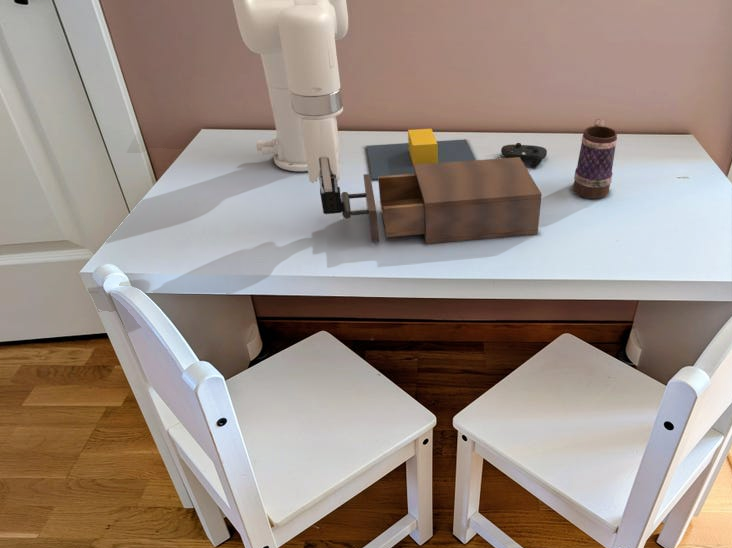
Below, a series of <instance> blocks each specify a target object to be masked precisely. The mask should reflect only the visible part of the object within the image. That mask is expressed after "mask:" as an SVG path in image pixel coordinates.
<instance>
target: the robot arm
mask: <svg viewBox="0 0 732 548" xmlns="http://www.w3.org/2000/svg"><path fill="white" fill-rule="evenodd" d="M232 5H233V8H234V9H233V10H234V13H235V17H236V22H237V25H238V29H239V33H240V36H241V38H242V41H243V43H244V44H245V46H246V47H247V49H249V51H251V52H252V53H254V54H258V55H260V59H261V62H262V67H263V71H264V76H265V82H266V86H267V91H268V96H269V100H270V106H271V111H272V117H273V121H274V126H275V132H276V138H271V140H256V143H255V144H256V150H257V152H262V155H270V154H271V155H272V154H273V162H274V164H275V165H276V166H277V167H279V168H280V169H282V170H285V171H290V172H307V174H308V180H309V182H311V183H312V184H314V183H317V182H319V187H320V188H319V194H320V199H321V200H320V201H321V208H322V213H323V214H324V215H332V214H342V202H341V189H340V188H341V187H340V186H339V183H338V181H339V180H340V179H341V152H340V151H341V149H340V138H339V131H338V130H339V129H338V123H337V116H339V115H341V114H342V113H343V111H344V104H343V96H342V87H341V81H340V70H339V64H338V63H339V62H338V55H337V47H336V41H338V40H342V39H344V38H345V37H346V35H347V33H348V30H349V13H348V12H349V11H348V6H347V0H232Z"/></svg>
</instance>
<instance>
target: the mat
mask: <svg viewBox="0 0 732 548" xmlns="http://www.w3.org/2000/svg"><path fill="white" fill-rule="evenodd" d="M436 142H437V147H438V163H444V162H458V161H473V160H476V157H475V155H474V154H473V151H472V149H471V147H470V144H469V143H468V140H467V139H451V140H449V139H448V140H436ZM366 153H367V158H368V164H369V170H370V176H371V181H378V176H389V175H403V174H414V166H413V163H412V159H411V156H410V152H409V142H405V143H403V142H402V143H389V144H387V143H386V144H373V145H366Z"/></svg>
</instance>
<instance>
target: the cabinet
mask: <svg viewBox="0 0 732 548" xmlns="http://www.w3.org/2000/svg"><path fill="white" fill-rule="evenodd" d="M414 174H416V178H417V181H418V185H419V188H420V192H421V195H422V198H423V202H424V205H425V234H423V236H424V241H425V244H426V245H431V244H442V243H452V242H464V241H465V242H466V241H474V240H475V241H477V240H486V239H487V240H488V239H497V238H508V237H509V238H510V237H520V236H521V237H522V236H532V235H533V236H534V235H538V233H539V224H540V214H541V206H542V205H541V204H542V196H543V195H542V192H541V190H540V188H539V187H538V185H537V184H536V182H535V180H534V178H533V176H532V175H531V174H530V172H529V170H528V168H527V167H526V165H525V163H524V162H522V160H521V159H520V157H516V158H505V157H504V158H490V159H489V158H488V159H475V160H473V161H458V162H444V163H429V164H415V165H414Z"/></svg>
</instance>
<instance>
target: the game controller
mask: <svg viewBox="0 0 732 548" xmlns="http://www.w3.org/2000/svg"><path fill="white" fill-rule="evenodd" d="M500 152H501V155H502V156H503V157H504V158H516V157H520V159H521V160H522V162H523V163H524V164H525V163H528V164H532V166H533V167H534V168H537V167H538V166H539V165H540V164H541V162H542V161H543V160H544V159H545V158H546V157H547V155H548V150H547V149H546V148H545V147H543V146H539V145H531V144H530V145H529V144H522V143H521V142H516V143H515V144H505V145H503V146H502V147H501V149H500Z"/></svg>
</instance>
